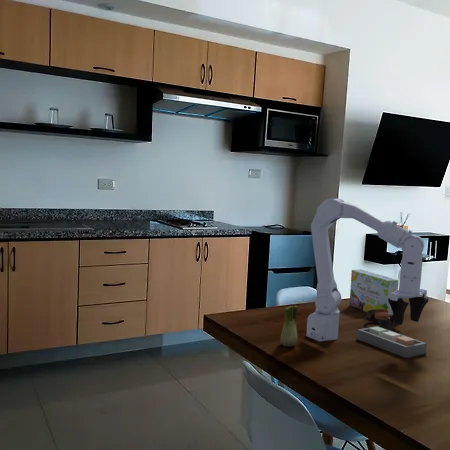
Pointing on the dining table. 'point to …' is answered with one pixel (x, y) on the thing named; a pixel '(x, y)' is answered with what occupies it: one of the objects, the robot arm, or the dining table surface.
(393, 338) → the key mid
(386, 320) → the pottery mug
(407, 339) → the key
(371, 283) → the snack box
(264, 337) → the dining table surface
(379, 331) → the key
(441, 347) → the dining table surface
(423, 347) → the grey rectangular tray
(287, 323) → the fennel bulb
